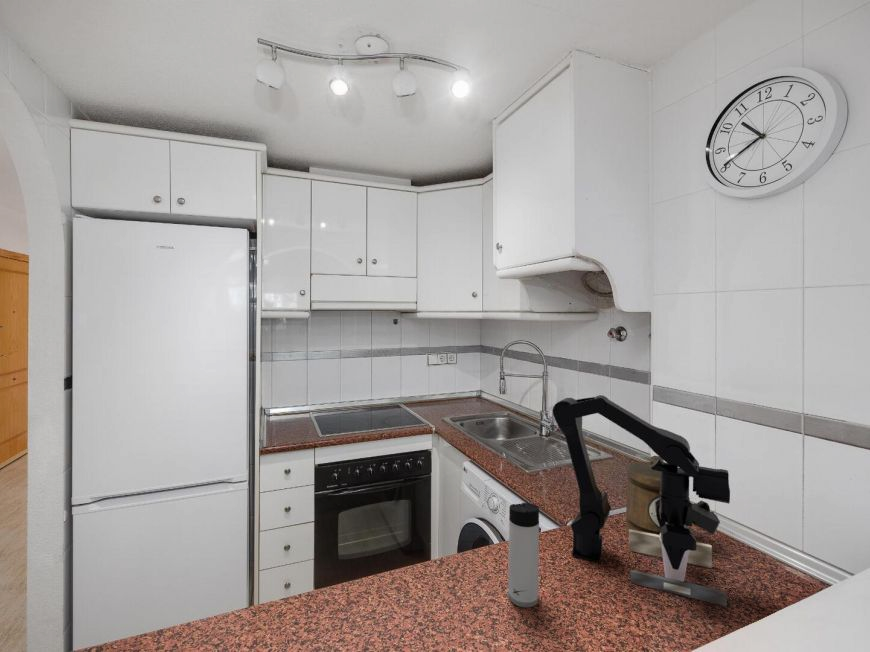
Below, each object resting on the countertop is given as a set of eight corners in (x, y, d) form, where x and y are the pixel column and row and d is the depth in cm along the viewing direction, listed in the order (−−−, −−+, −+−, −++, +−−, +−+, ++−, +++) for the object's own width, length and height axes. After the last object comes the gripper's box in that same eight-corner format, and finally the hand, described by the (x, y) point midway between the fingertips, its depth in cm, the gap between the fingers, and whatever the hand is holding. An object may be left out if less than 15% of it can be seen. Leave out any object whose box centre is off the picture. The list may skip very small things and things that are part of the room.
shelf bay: (630, 583, 92) (631, 561, 92) (628, 548, 106) (629, 529, 106) (726, 607, 85) (727, 583, 84) (710, 565, 99) (710, 545, 99)
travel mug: (517, 611, 83) (518, 513, 82) (503, 591, 89) (504, 499, 89) (544, 606, 84) (545, 510, 84) (529, 586, 91) (530, 496, 90)
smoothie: (681, 572, 96) (682, 513, 96) (696, 589, 90) (698, 526, 90) (653, 570, 97) (654, 511, 97) (666, 587, 90) (667, 525, 90)
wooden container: (664, 555, 103) (665, 468, 103) (614, 528, 117) (615, 452, 116) (698, 541, 110) (699, 460, 110) (648, 517, 123) (648, 445, 123)
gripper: (726, 516, 82) (725, 594, 82) (707, 483, 99) (706, 547, 99) (663, 505, 86) (661, 579, 86) (655, 475, 103) (654, 537, 103)
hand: (673, 559), depth 94 cm, fingers closed on smoothie, 8 cm apart
